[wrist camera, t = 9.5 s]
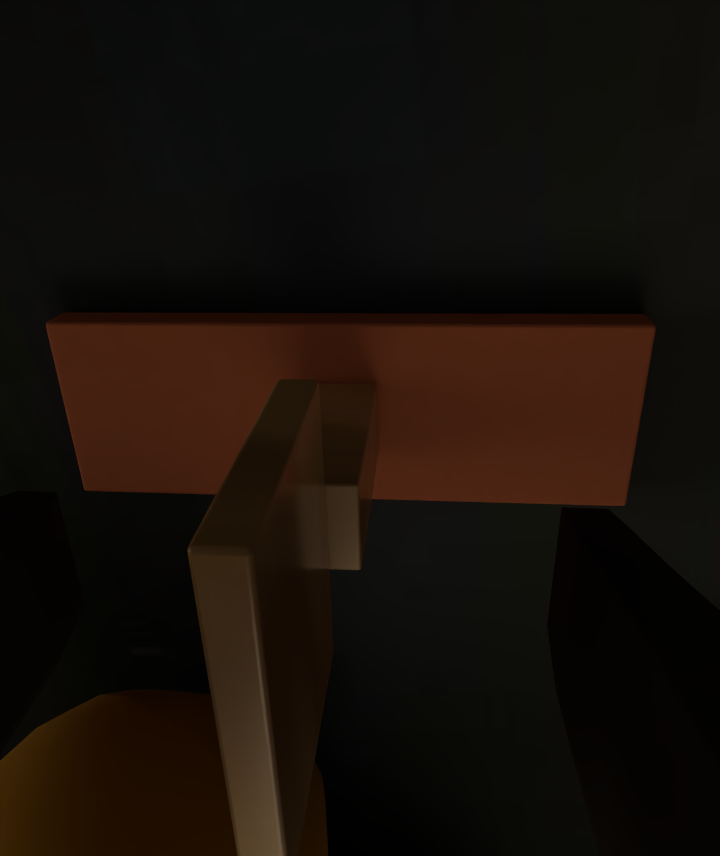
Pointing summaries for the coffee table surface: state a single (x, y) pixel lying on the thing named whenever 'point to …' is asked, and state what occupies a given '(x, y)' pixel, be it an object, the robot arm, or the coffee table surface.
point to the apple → (129, 783)
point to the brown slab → (281, 594)
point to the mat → (364, 364)
